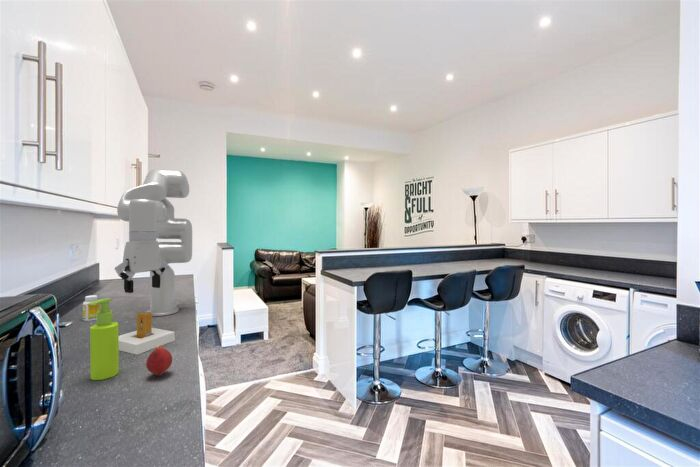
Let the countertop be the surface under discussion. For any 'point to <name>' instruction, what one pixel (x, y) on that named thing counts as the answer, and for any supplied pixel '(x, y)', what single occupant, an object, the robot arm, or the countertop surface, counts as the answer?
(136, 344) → the socket block
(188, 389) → the countertop surface
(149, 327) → the supplement box
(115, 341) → the soap dispenser
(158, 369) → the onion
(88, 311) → the supplement bottle
